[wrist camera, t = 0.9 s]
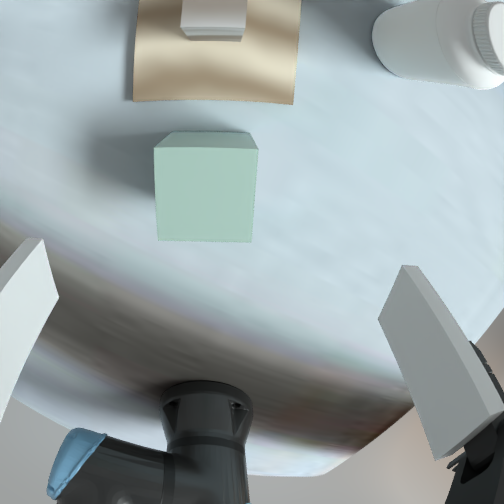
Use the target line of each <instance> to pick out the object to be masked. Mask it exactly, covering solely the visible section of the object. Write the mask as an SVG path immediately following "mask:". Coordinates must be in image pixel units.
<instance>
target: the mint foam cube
mask: <svg viewBox="0 0 504 504" xmlns="http://www.w3.org/2000/svg"><path fill="white" fill-rule="evenodd" d="M257 162H258V148H257V146H256V144H255V142H254V140H253V138H252V136H251V134H250V133H239V132H204V131H173V132H171V133H170V134H169V135H168V136H167V137H165V138H164V139H163V140H162V141H161V142H160V143H159V144H157V145H156V146H155V147H154V179H155V202H156V220H157V234H158V241H204V242H250V243H251V241H252V227H253V214H254V201H255V188H256V175H257Z"/></svg>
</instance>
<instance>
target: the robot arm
mask: <svg viewBox="0 0 504 504" xmlns="http://www.w3.org/2000/svg"><path fill="white" fill-rule="evenodd" d="M58 298H59V296H58V293H57V290H56V287H55V283H54V280H53V276H52V273H51V269H50V265H49V262H48V258H47V254H46V250H45V246H44V241H43V239H40V238H26V240H25V241H24V242H23V243H22V244H21V245H20V246H19V247H18V248H17V250H16V251H15V252H14V253H13V254H12V255H11V257H10V258H9V259H8V260H7V261H6V262H5V264H4V265H3V266H2V267H1V268H0V422H1V419H2V417H3V414H4V411H5V409H6V406H7V403H8V401H9V399H10V396H11V394H12V391H13V389H14V387H15V384H16V382H17V380H18V377H19V375H20V373H21V371H22V368H23V366H24V364H25V362H26V360H27V358H28V356H29V354H30V351H31V349H32V347H33V345H34V343H35V341H36V339H37V337H38V335H39V333H40V332H41V330H42V328H43V326H44V324H45V322H46V320H47V318H48V316H49V315H50V313H51V311H52V309H53V307H54V306H55V304H56V302H57V300H58ZM378 321H379V323H380V325H381V327H382V329H383V332H384V334H385V336H386V338H387V340H388V343H389V345H390V347H391V349H392V352H393V354H394V356H395V358H396V361H397V363H398V365H399V368H400V370H401V372H402V375H403V377H404V380H405V382H406V384H407V387H408V389H409V392H410V394H411V397H412V399H413V402H414V404H415V407H416V409H417V412H418V415H419V417H420V420H421V422H422V425H423V428H424V431H425V434H426V436H427V439H428V442H429V445H430V447H431V450H432V453H433V456H434V459H435V461H436V460H439V459H442V458H445V457H447V456H450V455H452V454H454V453H455V452H456V451H458V450H459V449H460V448H462V447H463V446H464V449H465V452H464V453H462V454H461V455H459V456H458V457H457V458H455V459H454V460H453V461H451V462H450V463H449V464H448V466H447V469H450V468H451V467H453V466H454V465H456V464H457V463H458V462H459V463H458V465H457V466H456V467H455V468H454V469H453V470H452V471H454V472H456V473H455V476H454V479H453V482H452V485H451V488H450V491H449V494H448V496H447V499H446V502H445V504H504V392H503V390H502V388H501V386H500V384H499V382H498V380H497V379H496V377H495V375H494V374H492V370H491V368H490V367H489V365H487V361H486V359H485V358H484V356H483V354H482V353H481V351H480V350H479V349H478V348H477V347H476V346H475V345H474V344H473V343H472V342H471V341H468V339H467V338H466V336H465V334H464V333H463V331H462V330H461V328H460V327H459V325H458V323H457V322H456V320H455V319H454V317H453V316H452V314H451V313H450V311H449V310H448V308H447V307H446V305H445V304H444V302H443V301H442V299H441V298H440V296H439V295H438V294H437V292H436V291H435V289H434V288H433V286H432V285H431V284H430V282H429V281H428V279H427V278H426V277H425V275H424V274H423V273H422V271H421V270H420V269H419V267H418V266H409V265H402V267H401V269H400V271H399V274H398V276H397V278H396V281H395V283H394V285H393V287H392V290H391V292H390V294H389V296H388V298H387V301H386V303H385V305H384V307H383V309H382V311H381V313H380V315H379V317H378ZM159 414H160V418H161V422H162V426H163V430H164V433H165V437H166V440H167V452H164V451H160V450H155V449H151V448H148V447H144V446H140V445H137V444H133V443H129V442H126V441H123V440H119V439H116V438H113V437H110V436H107V434H105V433H103V434H101V433H97V432H94V431H91V430H87V429H84V428H75V429H72V430H71V431H70V432H69V433H68V434H67V436H66V437H65V439H64V441H63V443H62V445H61V447H60V449H59V451H58V454H57V456H56V458H55V461H54V464H53V467H52V470H51V473H50V476H49V480H48V486H47V495H48V496H50V497H51V498H52V499H53V500H57V504H251V503H250V499H249V489H248V478H247V468H246V458H245V444H246V440H247V437H248V434H249V430H250V427H251V423H252V420H253V408H252V402H251V400H250V398H249V397H248V396H247V395H246V394H245V393H244V392H243V391H241V390H239V389H237V388H235V387H233V386H230V385H227V384H223V383H217V382H209V381H195V382H187V383H182V384H179V385H176V386H173V387H171V388H170V389H168V390H167V391H166V392H165V393H164V394H163V395H162V397H161V400H160V408H159Z"/></svg>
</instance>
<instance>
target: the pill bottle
mask: <svg viewBox="0 0 504 504" xmlns="http://www.w3.org/2000/svg"><path fill="white" fill-rule="evenodd" d="M372 41H373V46H374V49H375V52H376V54H377V56H378V58H379V59H380V61H381V62H382V64H383V65H384V66H385V67H386V68H387V69H388V70H389V71H391V72H392V73H393V74H395V75H397V76H399V77H401V78H404V79H408V80H413V81H423V82H432V83H440V84H448V85H455V86H461V87H467V88H473V89H480V90H487V89H491V88H494V87H497V86H498V85H500V84H501V83H502V82H503V81H504V3H503V2H487V1H485V0H416V1H412V2H409V3H406V4H402V5H399V6H396V7H393V8H390V9H388V10H386V11H385V12H383V13H382V14H381V15H380V16H379V17H378V18H377V19H376V21H375V23H374V26H373V30H372Z"/></svg>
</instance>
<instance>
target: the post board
mask: <svg viewBox="0 0 504 504" xmlns="http://www.w3.org/2000/svg"><path fill="white" fill-rule="evenodd" d="M300 13H301V0H139V6H138V16H137V26H136V39H135V54H134V75H133V102H138V101H157V100H233V101H253V102H267V103H279V104H289V105H293V99H294V88H295V77H296V65H297V53H298V40H299V27H300Z"/></svg>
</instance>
